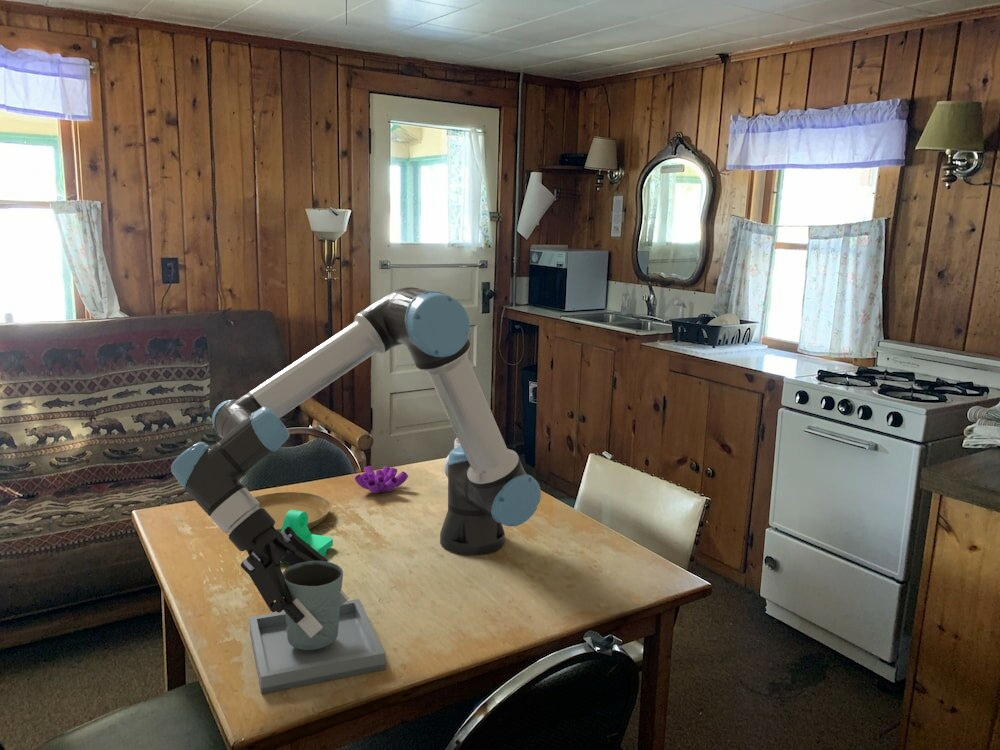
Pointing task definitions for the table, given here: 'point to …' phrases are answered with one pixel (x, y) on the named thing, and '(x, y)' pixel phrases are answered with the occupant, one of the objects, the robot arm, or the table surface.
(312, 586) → the grey green cup
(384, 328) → the robot arm
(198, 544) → the table surface
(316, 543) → the camera mount
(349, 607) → the tray
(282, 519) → the plant saucer
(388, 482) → the purple coral
